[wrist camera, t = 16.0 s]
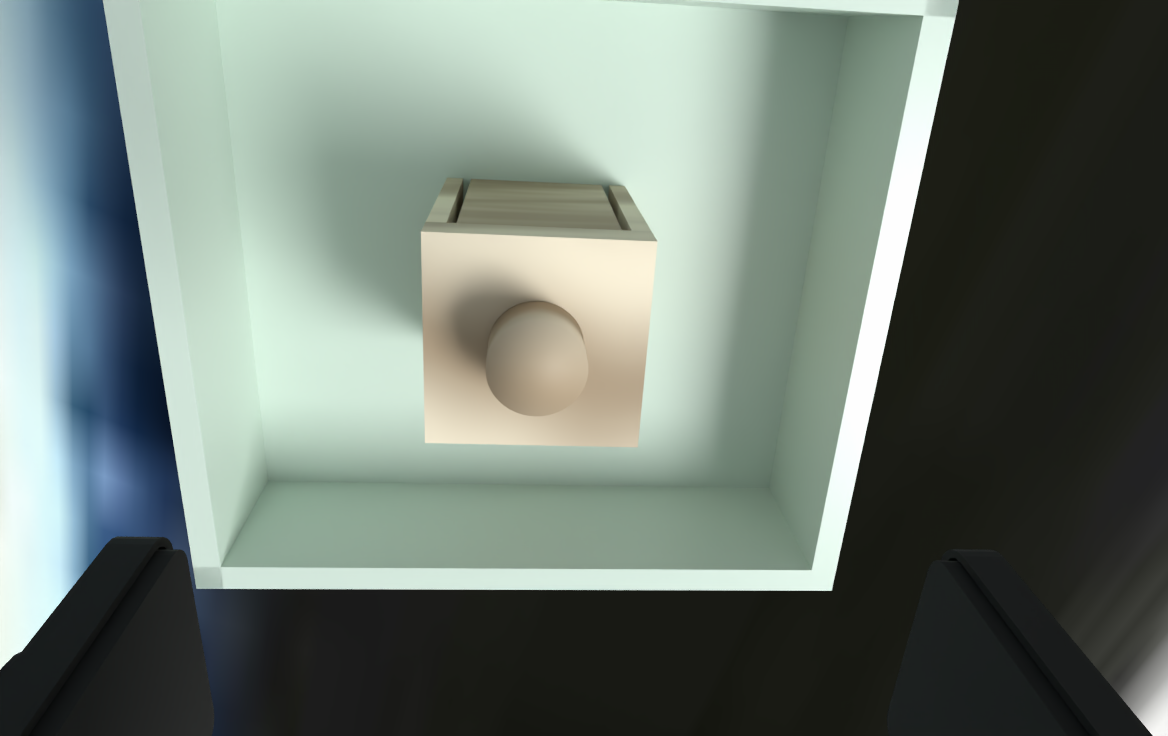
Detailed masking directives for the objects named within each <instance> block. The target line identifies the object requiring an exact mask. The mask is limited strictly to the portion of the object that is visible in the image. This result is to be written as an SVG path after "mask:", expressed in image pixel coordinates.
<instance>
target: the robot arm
mask: <svg viewBox="0 0 1168 736" xmlns="http://www.w3.org/2000/svg"><path fill="white" fill-rule="evenodd" d="M213 725H214V709H213V703H212V697H211V692H210V686H209V680H208V675H207V669H206V663H205V657H204V652H203V646H202V640H201V634H200V629H199V623H198V617H197V611H196V606H195V600H194V594H193V588H192V583H191V577H190V571H189V566H188V560H187V556H186V554H185V552H184V551H182V550H173V547H172V544H171V542H170V541H169V540H168V539H167V538H164V537H115V538H112V539H111V540H110V541H109V542H108V543H107V544H106V545H105V547H104V548H103V549H102V550H101V552H100V553H99V554H98V556H97V557H96V558H95V559H94V561H93V562H92V563H91V564H90V566H89V567H88V568H87V570H86V571H85V572H84V573H83V575H82V576H81V577H80V578H79V580H78V581H77V582H76V583H75V585H74V586H73V587H72V589H71V590H70V591H69V592H68V594H67V595H66V596H65V597H64V599H63V600H62V601H61V603H60V604H59V605H58V606H57V608H56V609H55V610H54V611H53V613H52V614H51V615H50V617H49V618H48V619H47V620H46V622H45V623H44V624H43V625H42V627H41V628H40V629H39V631H38V632H37V633H36V634H35V636H34V637H33V638H32V639H31V641H30V642H29V643H28V644H27V646H26V647H25V648H24V650H23V651H22V652H20V653H18V654H16V655H14V656H13V657H12V658H11V659H10V660H9V661H8V662H7V663H6V664H5V665H4V666H3V667H2V669H1V670H0V736H212V732H213ZM887 726H888V732H889V736H1152V734H1151V733H1150V732H1149V731H1148V730H1147V728H1146V727H1145V726H1144V725H1143V724H1142V722H1141V721H1140V720H1139V719H1138V718H1137V716H1136V715H1135V714H1134V713H1133V712H1132V710H1131V709H1130V708H1129V707H1128V706H1127V704H1126V703H1125V702H1124V701H1123V700H1122V698H1121V697H1120V696H1119V695H1118V694H1117V692H1116V691H1115V690H1114V689H1113V688H1112V686H1111V685H1110V684H1109V683H1108V682H1107V681H1106V679H1105V678H1104V677H1103V676H1102V675H1101V673H1100V672H1099V671H1098V670H1097V669H1096V667H1095V666H1094V665H1093V664H1092V663H1091V661H1090V660H1089V659H1088V658H1087V657H1086V655H1085V654H1084V653H1083V652H1082V651H1081V649H1080V648H1079V647H1078V646H1077V645H1076V643H1075V642H1074V641H1073V640H1072V639H1071V637H1070V636H1069V635H1068V634H1067V633H1066V631H1065V630H1064V629H1063V628H1062V627H1061V625H1060V624H1059V623H1058V622H1057V621H1056V619H1055V618H1054V617H1053V616H1052V615H1051V613H1050V612H1049V611H1048V610H1047V609H1046V607H1045V606H1044V605H1043V604H1042V603H1041V601H1040V600H1039V599H1038V598H1037V597H1036V595H1035V594H1034V593H1033V592H1032V591H1031V589H1030V588H1029V587H1028V586H1027V585H1026V583H1025V582H1024V581H1023V580H1022V579H1021V577H1020V576H1019V575H1018V574H1017V573H1016V571H1015V570H1014V569H1013V568H1012V567H1011V565H1010V564H1009V563H1008V562H1007V561H1006V559H1005V558H1004V557H1003V556H1002V555H1001V554H999V553H998V552H997V551H993V550H962V549H952V550H948V551H946V553H945V554H944V555H943V556H942V558H941V561H934V562H933V563H932V564H931V565H930V567H929V570H928V573H927V576H926V580H925V583H924V587H923V590H922V594H921V597H920V601H919V604H918V608H917V611H916V615H915V618H914V622H913V625H912V629H911V632H910V636H909V639H908V643H907V646H906V650H905V653H904V657H903V660H902V664H901V667H900V671H899V674H898V678H897V681H896V685H895V688H894V692H893V695H892V699H891V702H890V706H889V709H888V715H887Z"/></svg>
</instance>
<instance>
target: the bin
mask: <svg viewBox="0 0 1168 736" xmlns="http://www.w3.org/2000/svg"><path fill="white" fill-rule="evenodd" d="M958 3H959V0H103V4H104V10H105V17H106V23H107V29H108V36H109V42H110V48H111V54H112V61H113V67H114V73H115V80H116V86H117V92H118V98H119V105H120V111H121V117H122V123H123V130H124V136H125V142H126V149H127V155H128V161H129V167H130V174H131V180H132V186H133V193H134V199H135V205H136V211H137V218H138V224H139V230H140V236H141V243H142V249H143V255H144V262H145V268H146V274H147V280H148V287H149V293H150V299H151V306H152V312H153V318H154V324H155V331H156V337H157V343H158V349H159V356H160V362H161V368H162V375H163V381H164V387H165V393H166V400H167V406H168V412H169V419H170V425H171V431H172V437H173V444H174V450H175V456H176V462H177V469H178V475H179V481H180V488H181V494H182V500H183V506H184V513H185V519H186V525H187V532H188V538H189V544H190V550H191V557H192V563H193V569H194V576H195V582H196V588H197V589H489V590H815V591H832V586H833V581H834V577H835V572H836V568H837V563H838V558H839V554H840V549H841V544H842V540H843V535H844V531H845V526H846V521H847V517H848V512H849V507H850V503H851V498H852V493H853V489H854V484H855V480H856V475H857V470H858V466H859V461H860V456H861V452H862V447H863V443H864V438H865V433H866V429H867V424H868V419H869V415H870V410H871V406H872V401H873V396H874V392H875V387H876V382H877V378H878V373H879V368H880V364H881V359H882V355H883V350H884V345H885V341H886V336H887V331H888V327H889V322H890V318H891V313H892V308H893V304H894V299H895V294H896V290H897V285H898V280H899V276H900V271H901V267H902V262H903V257H904V253H905V248H906V243H907V239H908V234H909V230H910V225H911V220H912V216H913V211H914V206H915V202H916V197H917V193H918V188H919V183H920V179H921V174H922V169H923V165H924V160H925V155H926V151H927V146H928V142H929V137H930V132H931V128H932V123H933V118H934V114H935V109H936V105H937V100H938V95H939V91H940V86H941V81H942V77H943V72H944V67H945V63H946V58H947V54H948V49H949V44H950V40H951V35H952V30H953V26H954V21H955V17H956V12H957V7H958ZM447 178H463V202H464V199H465V196H466V193H467V190H468V187H469V184H470V181H471V179H486V180H507V181H528V182H549V183H570V184H591V185H602V187H603V190H604V192H605V194H606V196H607V198H608V195H609V185H612V186H625V187H626V189H627V191H628V192H629V194H630V196H631V197H632V199H633V201H634V202H635V204H636V206H637V208H638V209H639V211H640V213H641V214H642V216H643V218H644V219H645V221H646V223H647V224H648V226H649V228H650V230H651V231H652V233H653V235H654V236H655V238H656V240H657V241H658V243H657V253H656V264H655V274H654V284H653V295H652V305H651V315H650V326H649V336H648V346H647V357H646V367H645V377H644V388H643V398H642V408H641V419H640V429H639V439H638V447H595V446H545V445H496V444H447V443H425V422H424V370H423V318H422V266H421V230H422V228H423V226H424V224H425V222H426V220H427V218H428V216H429V214H430V212H431V210H432V208H433V206H434V203H435V201H436V199H437V197H438V195H439V193H440V191H441V189H442V187H443V185H444V183H445V181H446V179H447Z"/></svg>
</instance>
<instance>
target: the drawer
mask: <svg viewBox="0 0 1168 736" xmlns="http://www.w3.org/2000/svg"><path fill="white" fill-rule="evenodd" d="M657 243H658V241H657V240H656V238H655V236H654V235H653V233H652V231H651V230H650V228H649V226H648V224H647V223H646V221H645V219H644V218H643V216H642V214H641V213H640V211H639V209H638V208H637V206H636V204H635V202H634V201H633V199H632V197H631V196H630V194H629V192H628V191H627V189H626V187H625V186H612V185H609V195H608V198H607V196H606V194H605V192H604V190H603V187H602V185H591V184H570V183H549V182H528V181H507V180H486V179H471V181H470V184H469V187H468V190H467V193H466V196H465V199H464V202H463V178H447V179H446V181H445V183H444V185H443V187H442V189H441V191H440V193H439V195H438V197H437V199H436V201H435V203H434V206H433V208H432V210H431V212H430V214H429V216H428V218H427V220H426V222H425V224H424V226H423V228H422V230H421V266H422V318H423V370H424V422H425V443H447V444H496V445H545V446H595V447H638V439H639V429H640V419H641V408H642V398H643V388H644V377H645V367H646V357H647V346H648V336H649V326H650V315H651V305H652V295H653V284H654V274H655V264H656V253H657Z"/></svg>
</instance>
